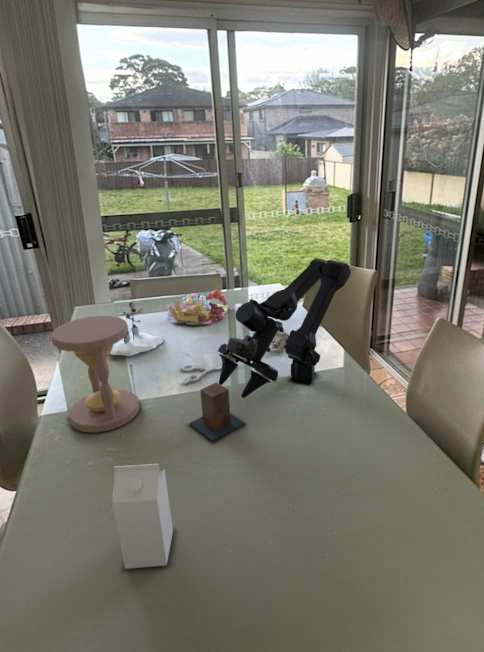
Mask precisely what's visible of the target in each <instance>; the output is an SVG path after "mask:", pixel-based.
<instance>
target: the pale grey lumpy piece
mask: <svg viewBox="0 0 484 652" xmlns="http://www.w3.org/2000/svg"><path fill="white" fill-rule="evenodd" d="M289 334H290V333H287V332H285V331H284V332H283V333H282V332H279V331H277V333H276V335H275V337H274V338H273V340H272V342H271V344H270V345H269V348H270V349H271V350H270V352H272V351H273V352H276V353H281V354H283V352H284V351H285V345H286V342H285V341H286V340H287V339H288V337H289Z"/></svg>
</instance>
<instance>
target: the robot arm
mask: <svg viewBox="0 0 484 652" xmlns="http://www.w3.org/2000/svg"><path fill="white" fill-rule="evenodd" d="M351 270H352V269H351V268H350V265H349V264H348V263H346V262H342V261H338V260H335V259H328V260H321V259H312V260H311V261H310V262H309V264H308V265H307V267H306V268H304V270H303V271H302V272H301V273H299V275H298V276H296V277H295V279H293V281H291V282H290V284H289V285H287V287H285V288H283V289H281V290H278V291H275V292H274V293H273V294H271V295H269V296H268V297H267V299H266V300H264V301H262V302H260V303H259V302H258V301H257V300H255V299H253V298H250V299H249V300H248V302H244V303H243V304H241V305H240V306H239V307H237V309H236V311H235V314H234V315H235V320H236V321H237V322H238V323H240V324H241V325H242V326H244V327H245V328H246V329H247V330H249V331H250V332H252V333H251V334H250V335H248V334H246V335H245V336H244V338H243V339H242V338H237V337H231V336H230V337H228V340H227V344H226V343H223V344H220V346H219V348H218V350H217V352H218V353H219V354H218V355H219V357H220V359H221V362H222V363H221V365H222V369H220V375H219V380H218V384H220V385H222V386H223V385H224V383H226V381H227V380H228V379H229V378H230V377H231V375H232V374H233V373H234V371H236V370H237V368H238V367H237V366H239V364H238V363H239V362H240V363H242V364H244V365H246V366H248V367H250V368H252V369H254V370H252V369H251V370H250V378H249V380H248V382H247V383H246V385H245V387H244V388H243V391H242V393H241V396H240V397H241V398H243V399H245V398H247V397H248V396H249V395H251V394H252V393H253V392H255V391H256V390H258V389H259V388H261V387H263V386H265V385H266V384H267V383H268V384H271V382H273V383H275V382H276V381H277V379H278V378H279V370H277V369H276V368H274V367H272V366H271V365H270V364H268V363H266V362H264V361H262V359H263V358H264V356H265V354H266V353H270V352H271V351H270V350H271V349H270V348H269V347H270V344H271V342H272V341H273V339H274V337H275V335H276V333H277V331H279V332H282V333H283V332H285V330H284V327H283V321H284V322H286V321H288V320H290V319H291V317H292V316H293V315H294V313H295V312H296V311H297V309H298V304H299V302H300V300H301V299H302V298H303V297H304V296H305V295H306V294H307V293H308V292H309V291H310V290H311V289H312V288H313V287H314V286H315V285H316V284H317V283H318V281H319V282H320V285H319V287H318V289H317V291H316V294H315V296H314V298H313V300H312V301H311V304H310V306H309V308H308V311H307V312H306V315H305V317H304V319H303V321H302V323H301V325H300V327H299V328H297V329H296V330H295V329H292V330H290V332H289V333H288V334H289V337H288V339H287V340H286V341H285V342H286V344H285V349H284V351H285V354H286V355H287V358H288V359H290V360H292V361H291V364H290V382H294V383H298V384H299V383H300V384H306V385H311V384H312V383H313V381H314V380H315V378H316V376H317V373H316V372H315V371H316V366H317V364H318V363H320V360H321V354H320V353H318V352H317V351H316V347H317V337H316V334H317V332H318V330H319V328H320V326H321V324H322V322H323V319H324V317H325V315H326V313H327V311H328V309H329V307H330V304H331V303H332V300H333V298H334V296H335V293H336V292H337V291H339V290H340V289H342V288H343V287H345V285H346V283H347V281H348V280H349V278H350V276H351V273H352V271H351ZM279 320H280V321H279ZM281 321H282V322H281ZM277 334H278V333H277Z"/></svg>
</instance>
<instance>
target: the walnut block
mask: <svg viewBox="0 0 484 652" xmlns="http://www.w3.org/2000/svg"><path fill="white" fill-rule="evenodd" d="M199 391H200V404H201V413H202V417H203V423H204V424H205V425H207V426H208V427H209V428H211V429H212V430H214V431H217V430H219V429H221V428H222V427H224V426H226V425H228V424H229V423H231V422H230V414H231V408H230V407H231V406H230V391H229V388H226V387H225V386H223V384H222V385H220V384H219V382H214V383H211V384H210V385H208V386H206V387H203V388H200V390H199Z"/></svg>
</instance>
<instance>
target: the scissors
mask: <svg viewBox="0 0 484 652" xmlns="http://www.w3.org/2000/svg"><path fill="white" fill-rule="evenodd" d="M181 367H182V371H183V372H192V371H194V370H202V372H200V373H194V374H193V373H192V374H190V375H189V376H187V379H186V380H184V381H182V384H183V385H186V384H187V383H189V382H190V383H193V382H198V380H200V377H201V376H204V375H206V373H210V372H212V371H215V370H221V369H222V364H219V365H216V366H195V365H193V364H186V365H183V366H181ZM238 367H240V365H238V366H237V368H238Z"/></svg>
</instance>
